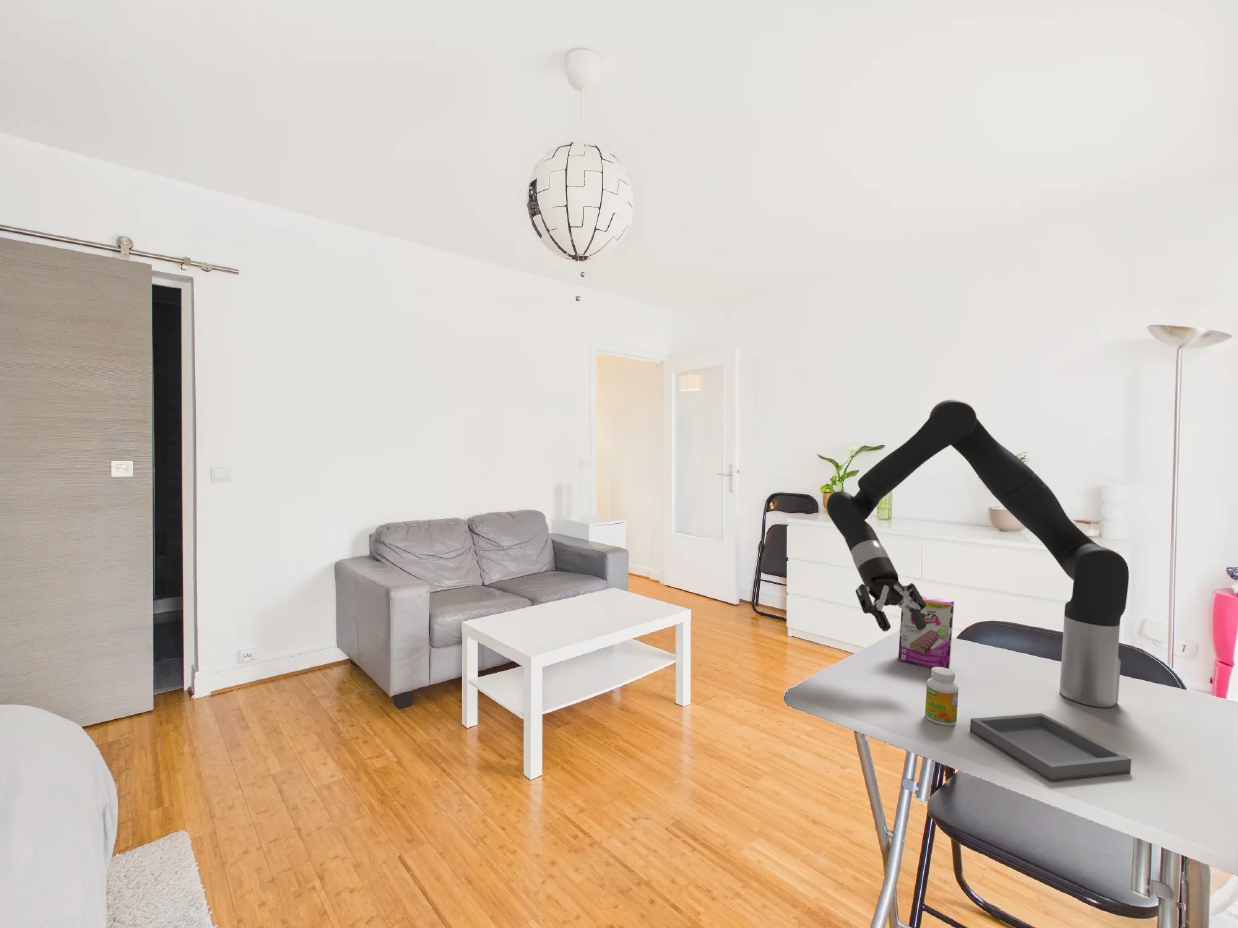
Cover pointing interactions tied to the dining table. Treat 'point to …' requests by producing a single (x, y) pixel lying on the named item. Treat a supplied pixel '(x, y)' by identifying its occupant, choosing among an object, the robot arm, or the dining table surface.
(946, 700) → the supplement bottle
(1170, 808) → the dining table surface
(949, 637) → the candy bar box
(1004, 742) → the tray
